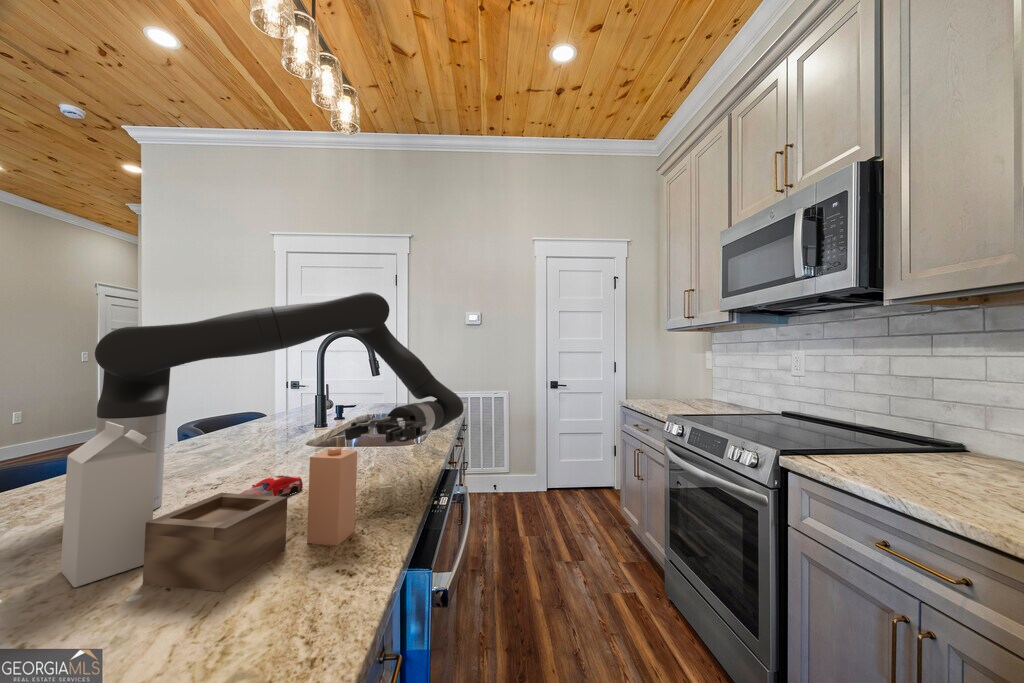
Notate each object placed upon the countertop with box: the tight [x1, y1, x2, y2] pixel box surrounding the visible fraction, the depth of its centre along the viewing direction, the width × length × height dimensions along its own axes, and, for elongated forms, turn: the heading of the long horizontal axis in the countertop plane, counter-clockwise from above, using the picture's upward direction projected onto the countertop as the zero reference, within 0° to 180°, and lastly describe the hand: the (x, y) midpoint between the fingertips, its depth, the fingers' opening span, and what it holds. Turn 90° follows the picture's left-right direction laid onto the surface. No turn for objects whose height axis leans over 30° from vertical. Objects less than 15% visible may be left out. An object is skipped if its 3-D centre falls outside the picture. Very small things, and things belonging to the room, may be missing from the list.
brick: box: [306, 446, 358, 547], centre depth 63 cm, size 5×5×14 cm
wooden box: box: [142, 492, 289, 593], centre depth 54 cm, size 11×11×8 cm
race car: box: [239, 475, 304, 497], centre depth 79 cm, size 13×5×4 cm, turn 159°
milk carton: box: [60, 421, 156, 588], centre depth 53 cm, size 7×7×19 cm
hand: (366, 435), depth 72 cm, fingers open, 8 cm apart
